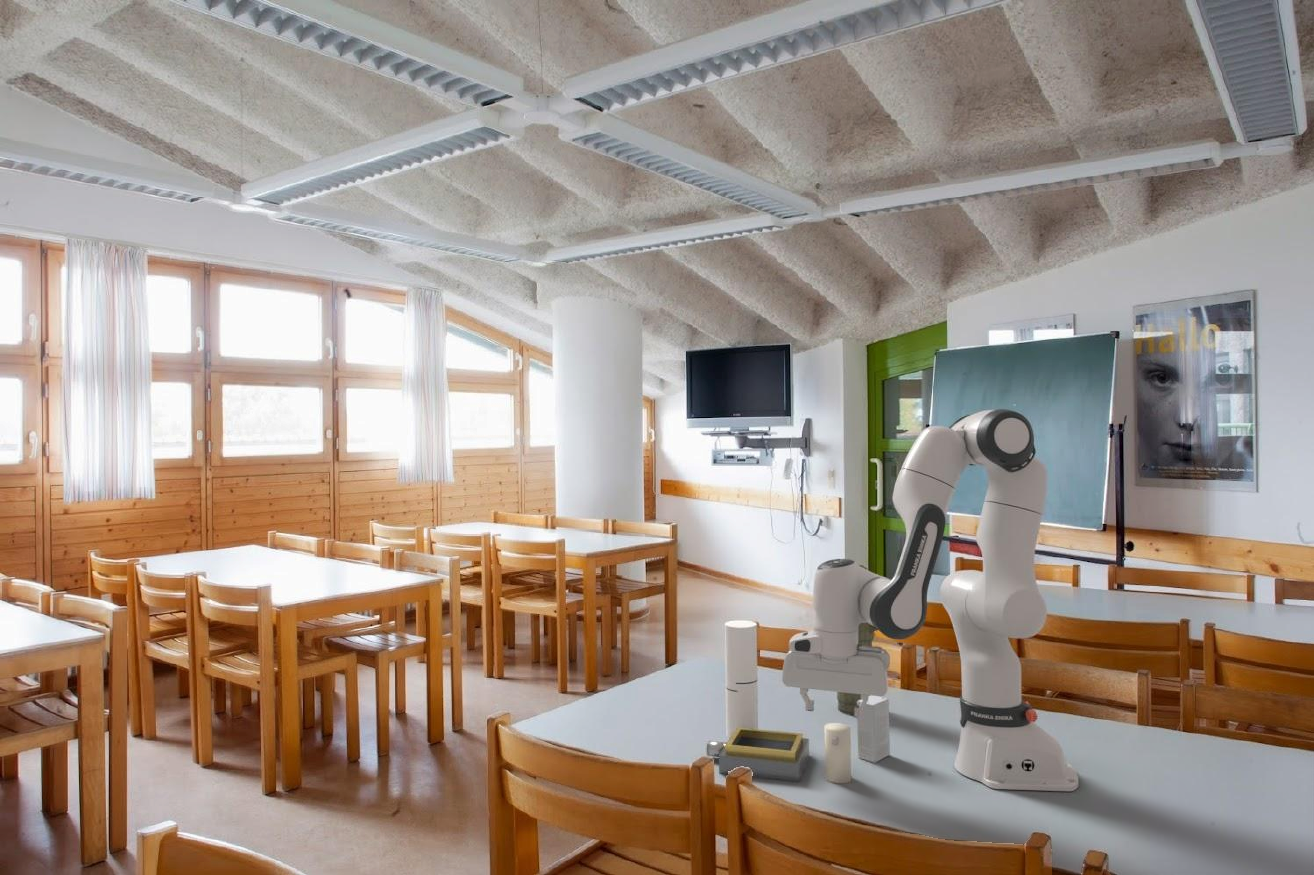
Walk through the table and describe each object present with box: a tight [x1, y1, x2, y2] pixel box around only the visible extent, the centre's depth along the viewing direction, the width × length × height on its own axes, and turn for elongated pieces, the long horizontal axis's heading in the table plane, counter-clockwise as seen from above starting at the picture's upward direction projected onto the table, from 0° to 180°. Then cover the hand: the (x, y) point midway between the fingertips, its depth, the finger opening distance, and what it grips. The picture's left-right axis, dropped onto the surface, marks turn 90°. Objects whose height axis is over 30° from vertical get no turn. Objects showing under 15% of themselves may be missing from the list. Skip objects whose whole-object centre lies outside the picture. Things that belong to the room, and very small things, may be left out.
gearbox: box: [705, 727, 810, 783], centre depth 174 cm, size 20×14×5 cm
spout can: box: [823, 722, 852, 784], centre depth 165 cm, size 5×7×10 cm
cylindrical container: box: [724, 619, 759, 739], centre depth 190 cm, size 7×7×25 cm
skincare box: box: [856, 695, 891, 763], centre depth 177 cm, size 6×4×12 cm
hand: (833, 713), depth 166 cm, fingers open, 8 cm apart
